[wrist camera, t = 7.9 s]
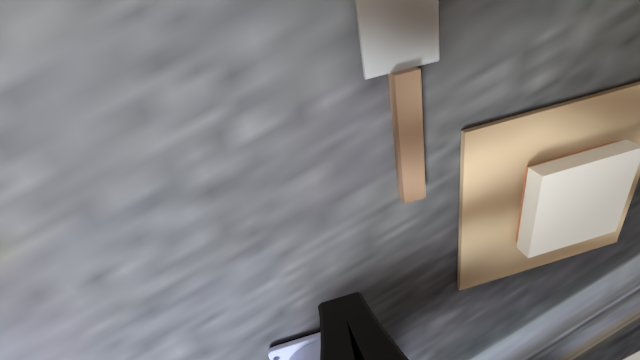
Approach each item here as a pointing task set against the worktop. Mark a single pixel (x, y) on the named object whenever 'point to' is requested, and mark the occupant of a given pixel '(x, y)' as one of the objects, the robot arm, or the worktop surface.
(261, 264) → the worktop surface
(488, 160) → the mat
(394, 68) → the spatula
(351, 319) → the robot arm
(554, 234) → the tile
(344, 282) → the worktop surface
